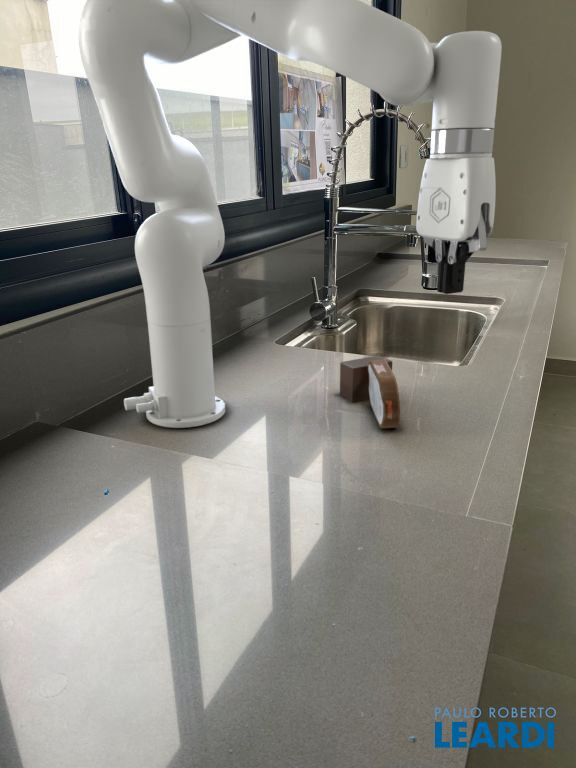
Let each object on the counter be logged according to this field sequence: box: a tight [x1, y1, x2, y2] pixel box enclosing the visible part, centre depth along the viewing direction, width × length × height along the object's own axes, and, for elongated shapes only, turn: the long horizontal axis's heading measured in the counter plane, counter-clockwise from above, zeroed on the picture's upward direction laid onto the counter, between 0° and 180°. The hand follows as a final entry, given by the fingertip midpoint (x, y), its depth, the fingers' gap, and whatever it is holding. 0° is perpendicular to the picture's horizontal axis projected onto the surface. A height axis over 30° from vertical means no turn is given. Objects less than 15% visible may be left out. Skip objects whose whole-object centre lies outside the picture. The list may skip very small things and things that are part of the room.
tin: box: [368, 358, 401, 429], centre depth 94 cm, size 15×3×8 cm, turn 1°
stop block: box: [339, 354, 393, 403], centre depth 104 cm, size 8×4×6 cm, turn 118°
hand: (449, 291), depth 82 cm, fingers closed
